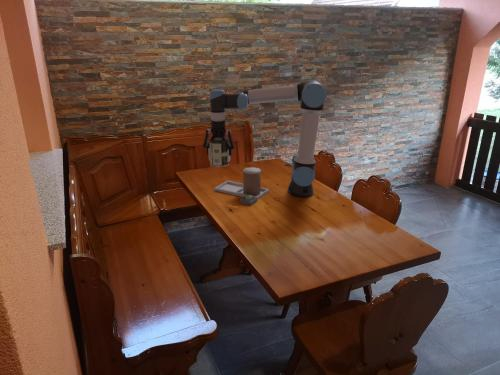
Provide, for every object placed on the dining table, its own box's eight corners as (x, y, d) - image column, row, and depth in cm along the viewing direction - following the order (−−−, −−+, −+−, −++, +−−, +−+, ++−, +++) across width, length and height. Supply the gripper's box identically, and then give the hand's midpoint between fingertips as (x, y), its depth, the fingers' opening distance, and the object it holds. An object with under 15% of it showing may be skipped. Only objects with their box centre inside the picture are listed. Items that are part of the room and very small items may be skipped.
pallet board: (269, 193, 217) (269, 189, 216) (256, 201, 205) (256, 197, 204) (228, 184, 230) (227, 180, 229) (214, 191, 218) (214, 187, 217)
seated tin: (263, 192, 216) (264, 169, 211) (255, 197, 207) (255, 174, 202) (248, 188, 220) (248, 166, 215) (239, 194, 212) (239, 171, 207)
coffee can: (226, 161, 208) (226, 136, 203) (230, 166, 199) (230, 141, 194) (208, 162, 206) (207, 137, 201) (211, 168, 196) (210, 142, 191)
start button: (253, 200, 202) (253, 195, 201) (250, 202, 199) (250, 197, 198) (247, 199, 204) (247, 194, 203) (243, 201, 201) (243, 196, 200)
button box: (257, 202, 203) (257, 197, 202) (251, 207, 198) (251, 201, 197) (246, 200, 207) (246, 195, 206) (240, 204, 201) (240, 199, 200)
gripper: (240, 119, 194) (241, 159, 202) (200, 117, 199) (202, 157, 207) (236, 122, 188) (237, 163, 195) (195, 120, 193) (197, 161, 201)
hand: (219, 160), depth 201 cm, fingers closed on coffee can, 10 cm apart
